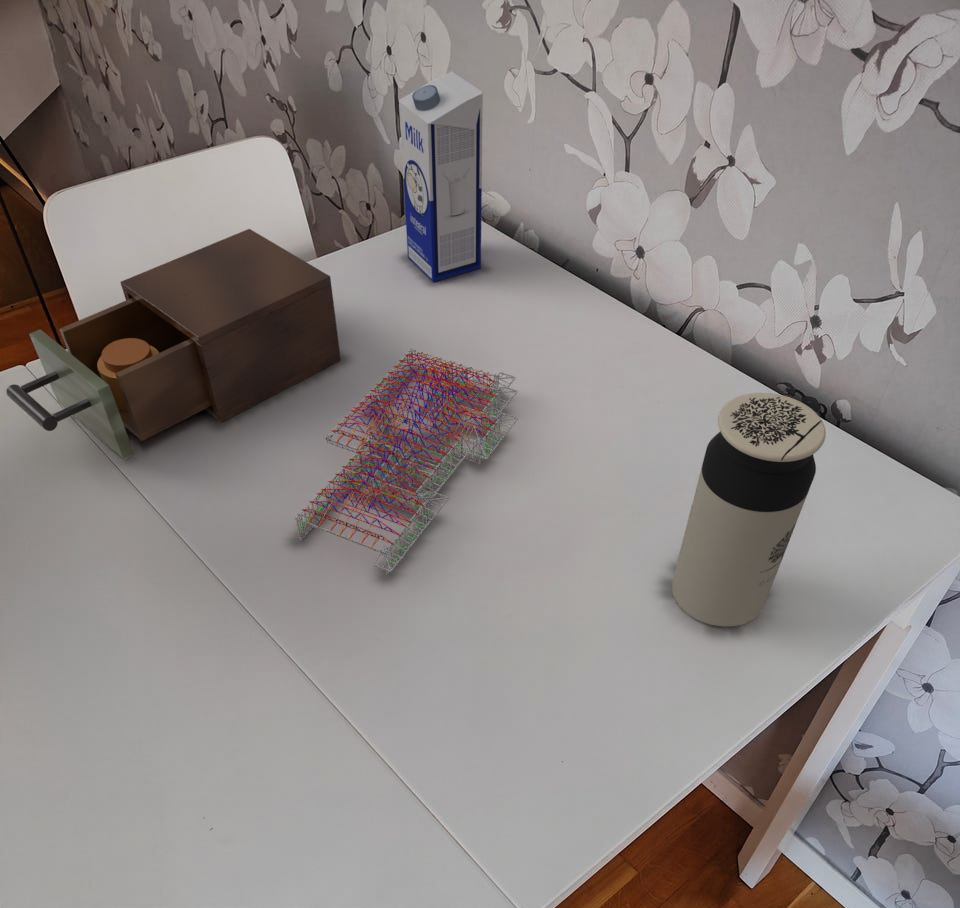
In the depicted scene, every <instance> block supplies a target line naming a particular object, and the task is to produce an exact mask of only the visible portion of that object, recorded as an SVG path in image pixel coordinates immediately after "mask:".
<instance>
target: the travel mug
mask: <svg viewBox="0 0 960 908" xmlns="http://www.w3.org/2000/svg"><path fill="white" fill-rule="evenodd" d="M717 426H718V430H719V432H718V433H716V434H715V436H713V437H712V438H711V439H710V440H709V442H708V444H707V446H706V450H705V454H704V456H703V461H702V465H701V468H700V472H699V476H698V480H697V484H696V487H695V491H694V496H693V499H692V502H691V507H690V511H689V515H688V518H687V523H686V526H685V530H684V534H683V537H682V542H681V545H680V549H679V553H678V556H677V557H678V558H677V561H676V564H675V568H674V573H673V576H672V580H671V592H672V595H673V598H674V599H675V602H676V603H677V605H678V606H679V607H680V609H682V610H683V611H684V612H685V613H686V614H687V615H689V616H690V617H692V618H694V619H695V620H698V621H700V622H702V623H705V624H707V625H710V626H711V625H712V626H716V627H717V626H718V627H736V626H737V627H738V626H741V625H744V624H748V623H749V622H751V621H753V620H755V619H756V618H757V617H758V616H759V615H760V614H761V613H762V611H763V609H764V608H765V605H766V602H767V599H768V597H769V594H770V592H771V590H772V587H773V585H774V581H775V580H776V576H777V574H778V572H779V569H780V566H781V563H782V562H783V559H784V556H785V554H786V550H787V549H788V546H789V543H790V540H791V537H792V535H793V533H794V531H795V528H796V525H797V523H798V520H799V517H800V515H801V512H802V509H803V507H804V504H805V502H806V499H807V496H808V494H809V491H810V490H811V486H812V484H813V482H814V479H815V476H816V473H817V465H816V460H815V457H814V454H815V453H817V452H818V451H819V450H820V449H821V448H822V446H823V445H824V443H825V440H826V437H827V436H826V433H827V432H826V426H825V424H824V422H823V420H822V418H821V417H820V416H819V414H818V413H817V412H815V410H814V409H812V408H811V407H810V406H808V405H806V404H805V403H804V402H801V401H799V400H797V399H795V398H793V397H790V396H787V395H782V394H780V393H779V394H778V393H771V392H752V393H745V394H741V395H738V396H736V397H734V398H732V399H730V400H729V401H728V402H726V403H725V404H723V406H722V407H721V409H720V411H719V413H718V417H717Z"/></svg>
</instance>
